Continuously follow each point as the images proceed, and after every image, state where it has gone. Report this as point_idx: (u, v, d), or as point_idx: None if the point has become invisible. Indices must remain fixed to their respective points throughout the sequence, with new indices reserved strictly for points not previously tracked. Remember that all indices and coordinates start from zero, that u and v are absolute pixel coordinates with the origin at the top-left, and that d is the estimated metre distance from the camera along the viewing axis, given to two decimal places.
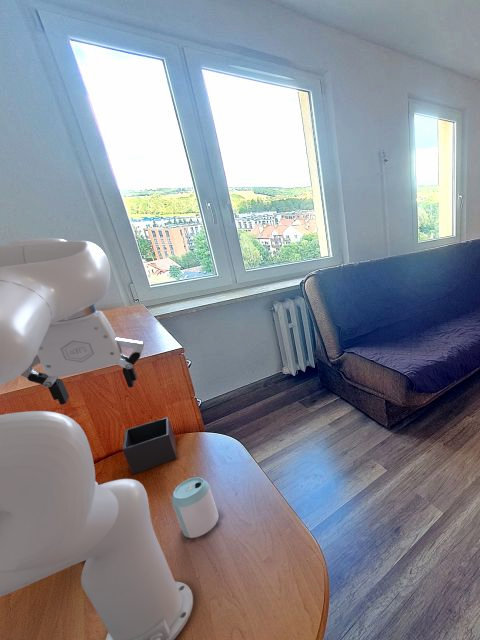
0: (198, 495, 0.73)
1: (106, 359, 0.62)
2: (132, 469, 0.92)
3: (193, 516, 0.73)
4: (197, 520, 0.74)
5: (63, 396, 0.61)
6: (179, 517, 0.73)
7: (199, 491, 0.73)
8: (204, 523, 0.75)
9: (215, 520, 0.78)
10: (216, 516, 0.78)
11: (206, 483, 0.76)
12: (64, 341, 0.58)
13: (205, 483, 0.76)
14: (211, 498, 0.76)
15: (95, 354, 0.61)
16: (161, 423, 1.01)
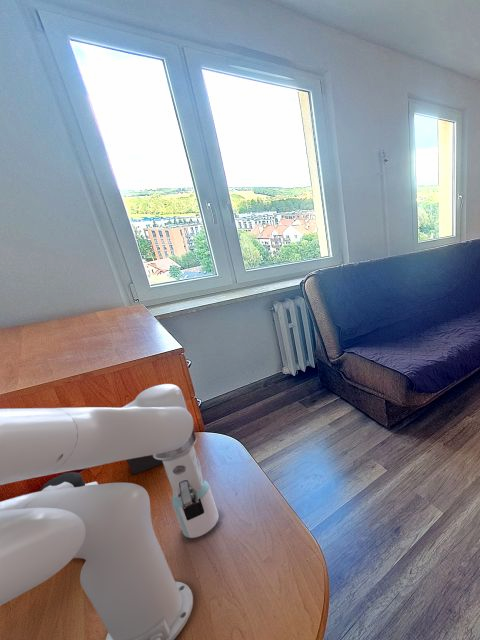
0: (198, 495, 0.73)
1: (199, 462, 0.77)
2: (132, 469, 0.92)
3: None
4: (197, 520, 0.74)
5: None
6: (179, 517, 0.73)
7: (199, 491, 0.73)
8: (204, 523, 0.75)
9: (215, 520, 0.78)
10: (216, 516, 0.78)
11: (206, 483, 0.76)
12: (195, 456, 0.72)
13: (205, 483, 0.76)
14: (211, 498, 0.76)
15: (198, 460, 0.75)
16: None
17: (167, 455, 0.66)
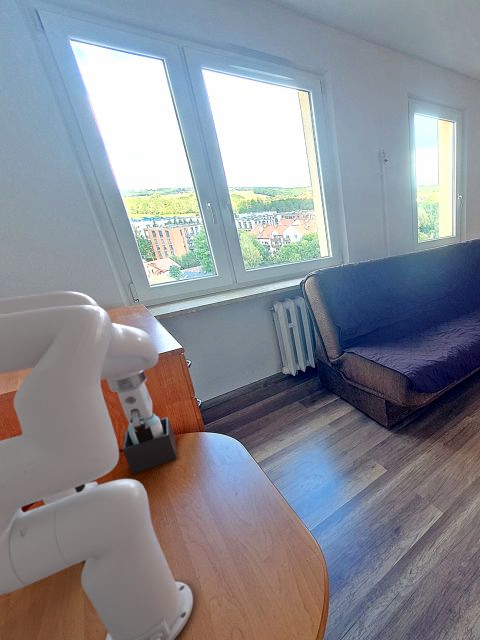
0: (148, 424, 0.93)
1: (151, 400, 0.96)
2: (132, 469, 0.92)
3: None
4: None
5: None
6: (133, 441, 0.92)
7: (149, 421, 0.93)
8: None
9: None
10: None
11: (157, 417, 0.96)
12: (145, 393, 0.91)
13: (156, 417, 0.96)
14: (161, 429, 0.96)
15: (149, 398, 0.95)
16: (161, 423, 1.01)
17: (120, 388, 0.86)
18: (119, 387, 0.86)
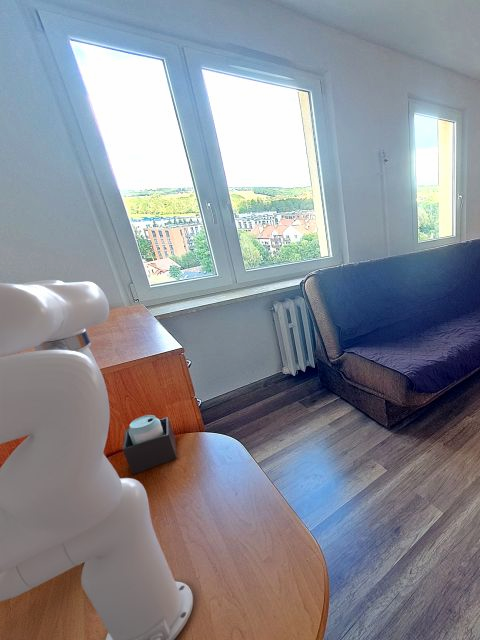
0: (149, 427, 0.93)
1: None
2: (132, 469, 0.92)
3: None
4: None
5: None
6: (134, 443, 0.92)
7: (150, 424, 0.93)
8: None
9: None
10: None
11: (157, 419, 0.96)
12: None
13: (156, 419, 0.96)
14: (161, 431, 0.96)
15: None
16: (161, 423, 1.01)
17: None
18: None
